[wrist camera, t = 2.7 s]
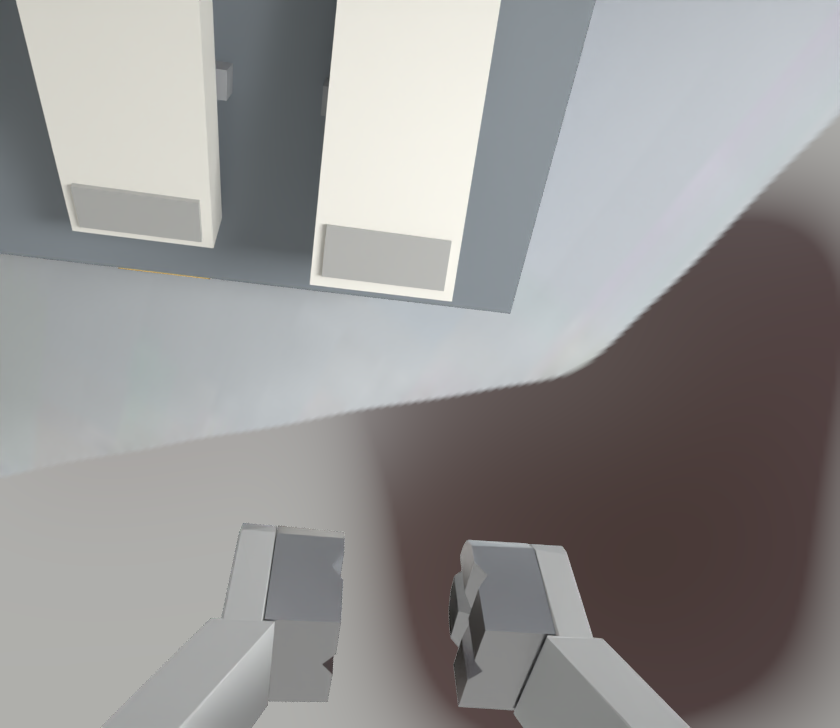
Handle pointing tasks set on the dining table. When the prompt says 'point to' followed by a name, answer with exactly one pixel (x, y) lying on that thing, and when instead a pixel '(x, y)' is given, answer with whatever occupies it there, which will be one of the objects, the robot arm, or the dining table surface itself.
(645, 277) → the dining table surface
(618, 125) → the dining table surface
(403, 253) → the rocker
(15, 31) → the console
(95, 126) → the block
